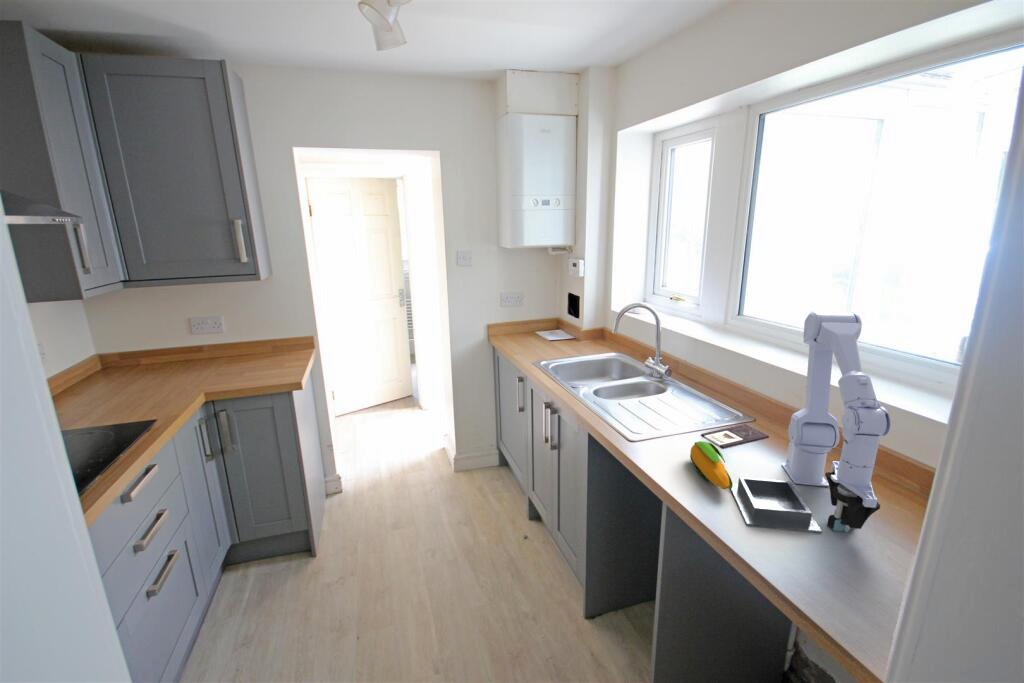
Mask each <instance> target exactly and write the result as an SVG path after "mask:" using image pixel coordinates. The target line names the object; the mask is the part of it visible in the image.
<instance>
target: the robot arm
mask: <svg viewBox="0 0 1024 683" xmlns="http://www.w3.org/2000/svg"><path fill="white" fill-rule="evenodd" d="M861 332H862V318H861V317H860V315H859V314H858V313H857V312H855V311H854V312H827V311H826V312H822V311H820V312H819V311H811V312H810V313H809V314H808V315H807V316H806V318H805V320H804V326H803V343H804V344H806V345H808V360H807V373H806V387H805V398H804V407H803V408H802V409H800V410H798V411H797V412H794V413H793V414H791V417H790V422H789V425H788V429H787V435H788V439H789V441H790V442H789V444H788V446H787V454H786V461H785V462H782V463H781V467H783V469H784V471H785V472H786V473H787V475H788V476H789V477H790V480H792V481H793V483H794V484H798V485H808V486H818V487H829V493H830V502H831V503H830V504H831V505H832V506H834V507H836V506H837V501H838V500H837V499H836V498H835V497H834V496H833V487H834V486H836V485H839V484H842V485H843V486H845V487H846V488H848V489H849V490H851V491H852V492H854V493H855V494H857V495H858V496H857V498H856V497H848V496H845V499H846V501H847V504H848V526H849V527H850V528H852V529H859V530H861V529H862V527H863V526H864V525H865V523H866V521H867V520H868V519H869V517H871V516H872V515H873V514H874V513H876V512H877V511H879V510H880V509H881V504H880V503H879V502H878V498H877V497H876V496H875V492H874V489H873V485H872V482H871V480H872V476H873V472H874V467H875V463H876V460H877V459H876V458H877V454H878V449H879V445H880V441H881V436H882V437H883V436H884V437H885V436H886V435H888V434H889V433H890V430H891V427H892V426H891V422H892V421H891V418H890V417H891V416H890V413H889V412H888V410H887V408H885V407H884V406H883V403H881V402H879V401H878V400H877V399H878V398H877V395H876V392H875V389H874V386H873V383H872V379H871V377H870V376H869V375H867V374H865V373H863V370H862V366H861V360H860V359H861V358H860V354H859V348H858V343H857V341H858V339H859V337H860V335H861ZM833 354H834V356H833ZM833 357H834V358H835V360H836V363H837V365H838V368H839V371H840V373H841V377H840V378H839V379H838V382H837V383H838V388H839V391H840V396H841V399H842V402H843V406H844V411H843V413H841V424H842V425H841V426H842V432H841V435H842V438H843V444H842V447H841V453H840V459H839V461H838V460H837V461H836V460H832V461H831V466H830V469H831V471H832V472H828V471H826V472H825V467H826V463H827V462H826V461H827V457H828V452H829V453H830V452H831V451H832V449H835V447H836V446H838V444H839V442H840V438H841V437H840V436H841V435H840V431H839V421H838V420H837V418H836V417H835V416H833V415H832V414H831V413H830V412H829V402H830V392H831V391H830V390H831V381H832V380H831V378H832V367H833ZM824 472H825V477H824ZM825 478H826V479H825Z"/></svg>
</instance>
